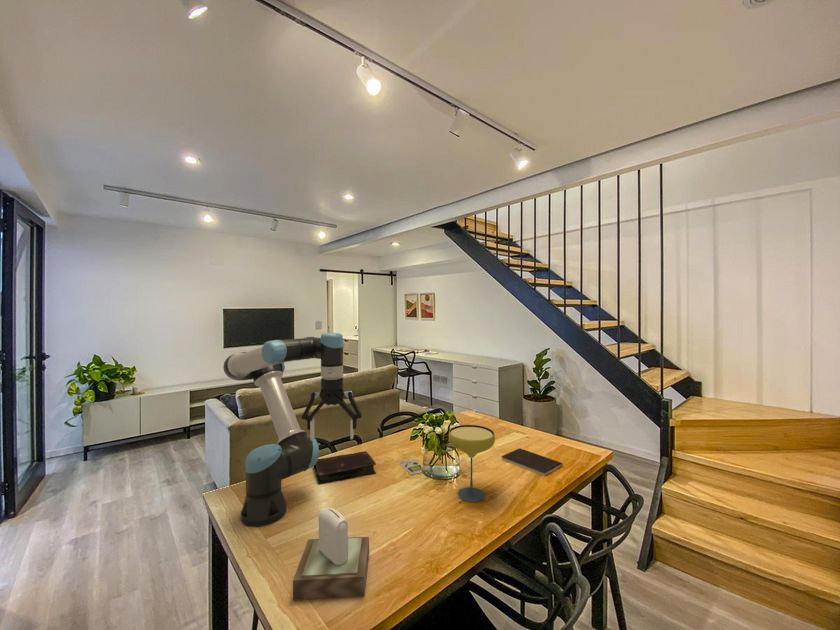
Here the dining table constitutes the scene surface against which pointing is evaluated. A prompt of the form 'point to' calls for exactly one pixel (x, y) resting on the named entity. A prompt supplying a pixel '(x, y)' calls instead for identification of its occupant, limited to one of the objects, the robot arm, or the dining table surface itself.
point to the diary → (344, 467)
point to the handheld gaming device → (413, 468)
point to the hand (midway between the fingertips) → (332, 438)
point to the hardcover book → (532, 461)
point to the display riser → (332, 572)
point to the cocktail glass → (471, 452)
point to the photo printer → (333, 535)
